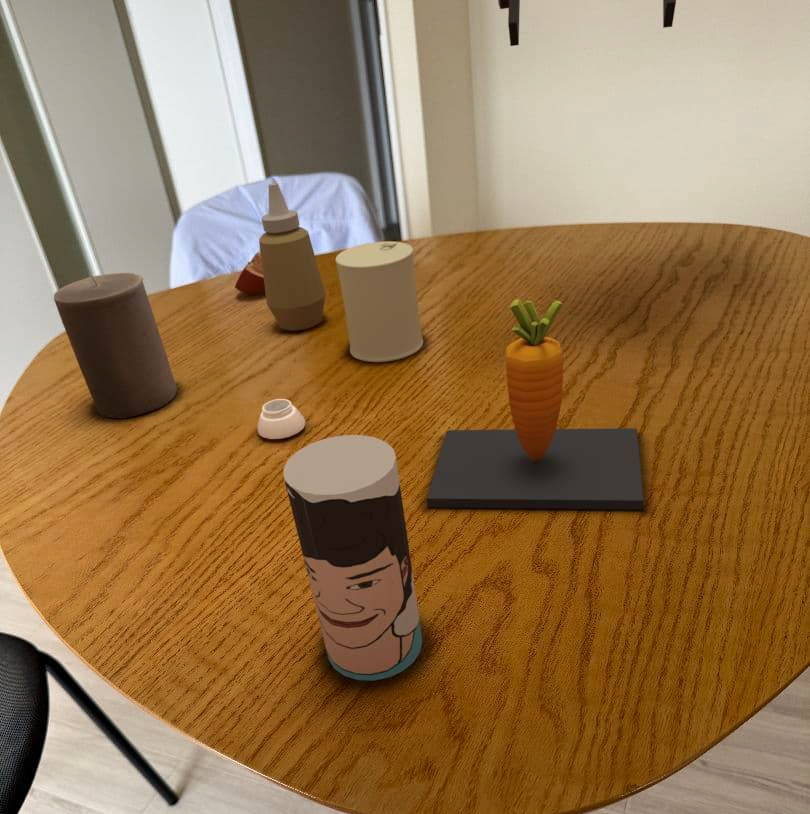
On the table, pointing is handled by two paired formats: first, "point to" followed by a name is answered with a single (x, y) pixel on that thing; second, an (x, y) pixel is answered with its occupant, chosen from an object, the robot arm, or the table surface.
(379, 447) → the printed cylindrical canister
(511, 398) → the carrot
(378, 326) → the can
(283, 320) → the squeeze bottle
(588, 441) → the felt mat
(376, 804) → the table surface
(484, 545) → the table surface
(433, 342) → the table surface
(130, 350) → the pillar candle
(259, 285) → the fruit slice
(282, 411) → the lidless jar
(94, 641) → the table surface
